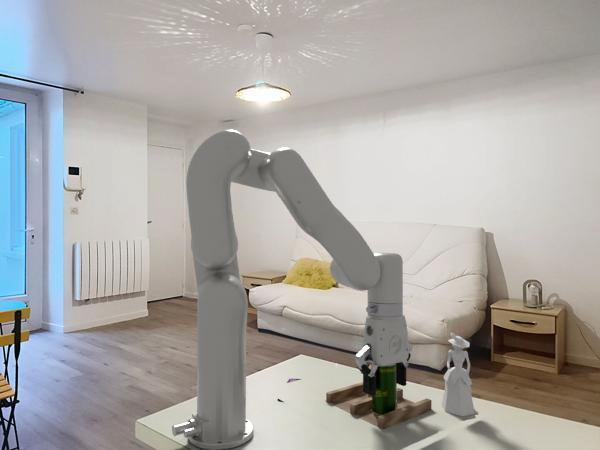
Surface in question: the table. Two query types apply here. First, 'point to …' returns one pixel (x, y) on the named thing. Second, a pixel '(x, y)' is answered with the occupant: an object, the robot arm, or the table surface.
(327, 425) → the table surface
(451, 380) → the figurine
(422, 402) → the rack
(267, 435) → the table surface
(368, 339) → the robot arm
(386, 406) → the beer can
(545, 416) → the table surface
